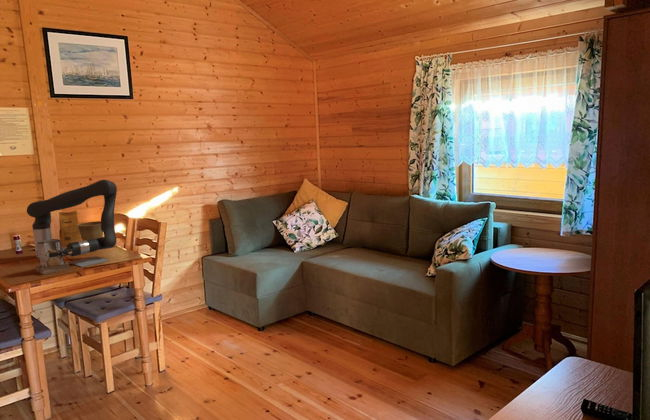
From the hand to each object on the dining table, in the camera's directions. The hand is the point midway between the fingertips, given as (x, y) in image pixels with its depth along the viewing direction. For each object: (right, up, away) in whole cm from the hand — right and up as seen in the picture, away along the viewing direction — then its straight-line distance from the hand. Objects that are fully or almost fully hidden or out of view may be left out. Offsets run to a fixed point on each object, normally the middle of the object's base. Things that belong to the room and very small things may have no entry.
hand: (46, 254), depth 259 cm
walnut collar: (+2, -9, +3) cm, 9 cm away
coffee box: (+2, -9, +3) cm, 9 cm away
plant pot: (0, -1, +52) cm, 52 cm away
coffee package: (-21, +1, +67) cm, 70 cm away
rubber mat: (+14, -6, +17) cm, 23 cm away
